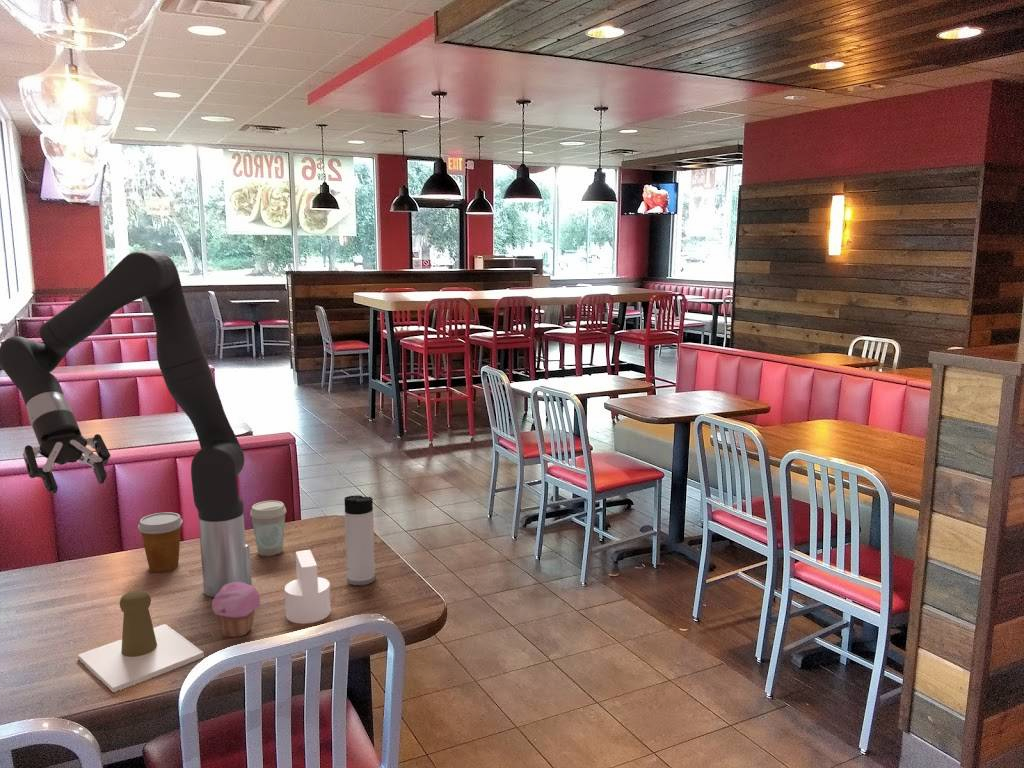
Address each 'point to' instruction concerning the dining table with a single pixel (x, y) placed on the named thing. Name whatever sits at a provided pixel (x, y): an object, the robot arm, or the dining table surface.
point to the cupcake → (235, 608)
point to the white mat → (140, 659)
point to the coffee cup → (268, 526)
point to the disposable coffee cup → (161, 540)
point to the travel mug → (359, 540)
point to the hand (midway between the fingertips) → (79, 486)
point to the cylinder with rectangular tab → (307, 592)
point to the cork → (137, 624)
